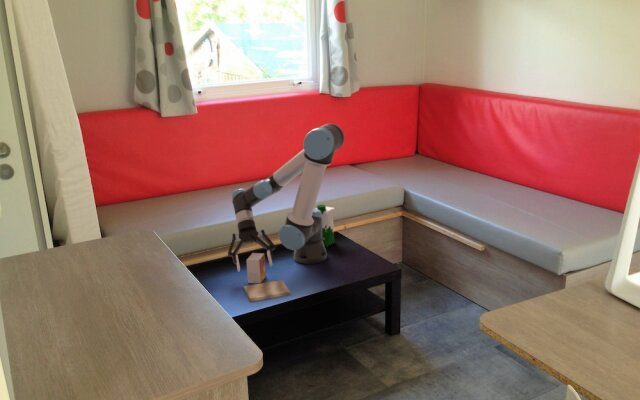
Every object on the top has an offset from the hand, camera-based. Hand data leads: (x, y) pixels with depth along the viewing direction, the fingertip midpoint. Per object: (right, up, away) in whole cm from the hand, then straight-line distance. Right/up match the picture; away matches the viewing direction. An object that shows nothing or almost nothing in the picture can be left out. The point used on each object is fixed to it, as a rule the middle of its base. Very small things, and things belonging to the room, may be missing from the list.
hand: (255, 267), depth 228 cm
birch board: (+6, -8, -9) cm, 14 cm away
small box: (+1, -5, +2) cm, 6 cm away
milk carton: (+29, +7, +40) cm, 50 cm away
